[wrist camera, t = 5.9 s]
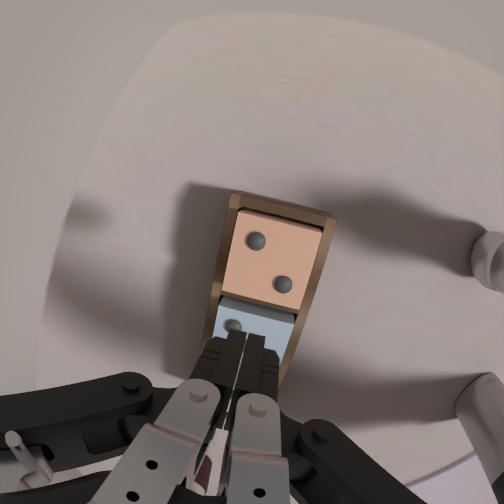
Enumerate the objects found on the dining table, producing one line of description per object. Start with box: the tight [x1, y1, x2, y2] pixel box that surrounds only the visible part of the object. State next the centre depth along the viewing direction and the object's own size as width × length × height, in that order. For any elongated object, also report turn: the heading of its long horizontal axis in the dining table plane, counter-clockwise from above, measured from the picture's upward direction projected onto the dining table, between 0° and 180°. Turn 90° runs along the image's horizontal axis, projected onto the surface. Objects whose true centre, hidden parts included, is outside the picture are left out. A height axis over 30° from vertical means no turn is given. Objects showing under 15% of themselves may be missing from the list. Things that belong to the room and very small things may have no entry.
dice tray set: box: [200, 191, 337, 418], centre depth 27 cm, size 24×9×5 cm, turn 167°
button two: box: [222, 208, 322, 310], centre depth 23 cm, size 6×6×3 cm
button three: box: [212, 295, 294, 372], centre depth 25 cm, size 6×6×3 cm
